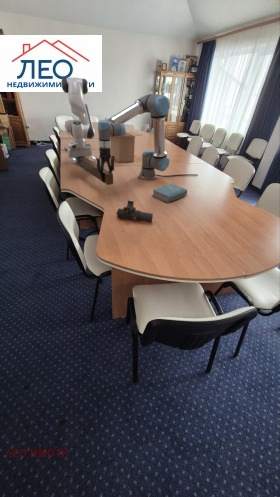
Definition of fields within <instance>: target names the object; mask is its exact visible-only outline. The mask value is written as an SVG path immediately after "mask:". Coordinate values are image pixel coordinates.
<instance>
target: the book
mask: <svg viewBox="0 0 280 497" xmlns="http://www.w3.org/2000/svg"><path fill="white" fill-rule="evenodd" d="M187 195H188V189H186V188H184V187H181V186H178V185H176V184H174V183H170V184H167V185H163V186H161V187H158V188H155V189H152V197H153V198H155V199H158V200H160V201H162V202H165V203H167V204H168V203H171V202H173V201H176V200H178V199H181V198H183V197H186V196H187Z"/></svg>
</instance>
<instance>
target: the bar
mask: <svg viewBox="0 0 280 497" xmlns="http://www.w3.org/2000/svg"><path fill="white" fill-rule="evenodd" d="M76 159H77V160H78V163H77V162H76V163H75V165H76V166H78V167H79V168H81V169H83V170H84V171H86V172H87V173H89V174H90V175H92V177H95V178H96V179H98V180H99V181H101V182H102V178H101V177H100V173H99V172H98V171H97V163H96V162H94V161H92V160H91V159H89V160H88V159H87V158H85V157H77V158H76ZM103 173H104V182H103V183H104V184H105V185H107V186H110V185H113V184H114V173H113V172H112V173H111V172H109V170H108V169H105V168H104V169H103Z"/></svg>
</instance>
